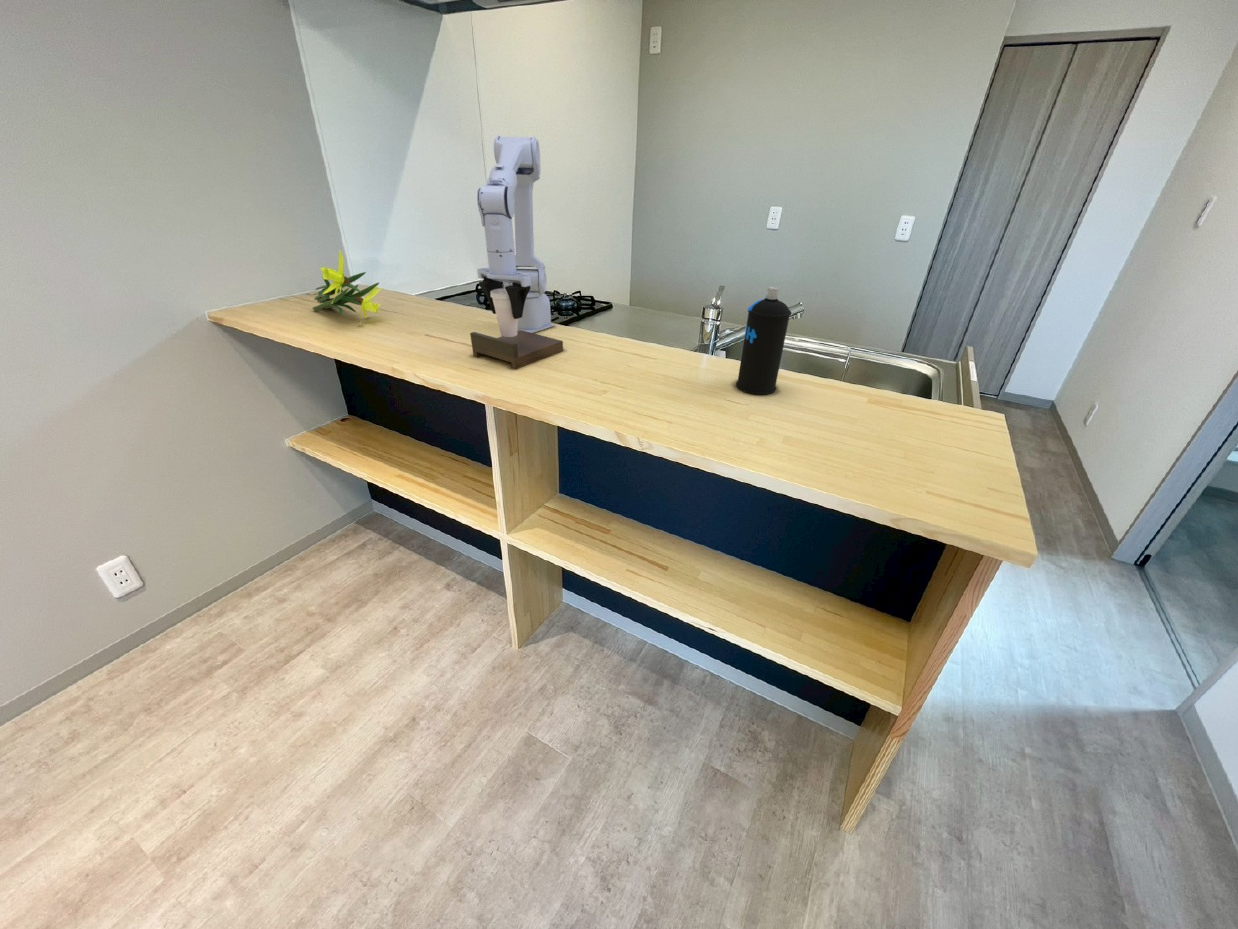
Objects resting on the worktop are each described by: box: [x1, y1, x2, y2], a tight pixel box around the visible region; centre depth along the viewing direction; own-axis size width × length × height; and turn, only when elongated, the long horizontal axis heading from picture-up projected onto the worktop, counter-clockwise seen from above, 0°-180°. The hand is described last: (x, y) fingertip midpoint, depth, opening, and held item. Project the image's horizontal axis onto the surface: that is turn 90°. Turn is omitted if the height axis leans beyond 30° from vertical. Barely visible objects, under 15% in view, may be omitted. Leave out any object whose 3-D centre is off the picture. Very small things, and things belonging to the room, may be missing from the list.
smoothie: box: [490, 282, 518, 337], centre depth 109 cm, size 6×6×14 cm
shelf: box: [469, 330, 564, 370], centre depth 116 cm, size 16×14×6 cm
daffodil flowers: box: [311, 249, 383, 326], centre depth 136 cm, size 17×15×35 cm
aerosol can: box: [735, 286, 792, 396], centre depth 97 cm, size 8×8×20 cm
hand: (507, 315), depth 111 cm, fingers closed on smoothie, 6 cm apart
